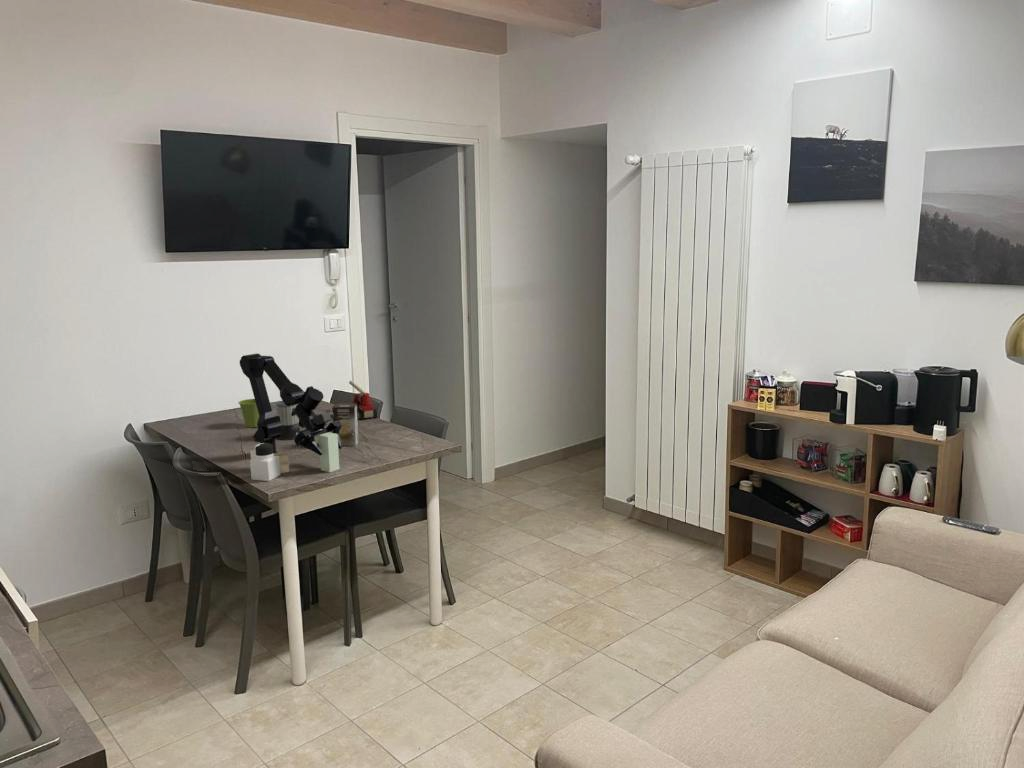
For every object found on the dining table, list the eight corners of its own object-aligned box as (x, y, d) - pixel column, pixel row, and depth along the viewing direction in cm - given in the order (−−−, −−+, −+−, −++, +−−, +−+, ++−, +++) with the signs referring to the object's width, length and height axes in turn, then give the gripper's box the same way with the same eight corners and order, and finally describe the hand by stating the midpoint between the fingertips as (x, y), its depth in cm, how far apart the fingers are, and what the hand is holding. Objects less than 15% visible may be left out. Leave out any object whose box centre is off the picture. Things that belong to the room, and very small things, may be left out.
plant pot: (272, 422, 343) (270, 398, 341) (261, 429, 332) (259, 404, 329) (247, 422, 344) (245, 398, 342) (235, 429, 333) (233, 404, 331)
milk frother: (294, 440, 313) (291, 405, 310) (259, 439, 317) (256, 404, 314) (310, 432, 327) (307, 398, 324) (276, 430, 330) (273, 396, 327)
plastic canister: (251, 468, 278) (250, 449, 276) (266, 466, 279) (264, 448, 278) (252, 472, 273) (250, 453, 272) (266, 470, 275) (265, 451, 273)
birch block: (270, 470, 274) (269, 454, 273) (284, 468, 277) (283, 452, 276) (275, 474, 270) (274, 457, 269) (289, 471, 273) (288, 455, 272)
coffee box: (333, 446, 304) (331, 407, 301) (336, 442, 311) (333, 403, 307) (356, 446, 305) (354, 406, 301) (359, 441, 311) (357, 403, 308)
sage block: (320, 470, 274) (318, 435, 272) (330, 466, 278) (328, 432, 275) (329, 472, 272) (327, 436, 269) (339, 468, 275) (337, 434, 273)
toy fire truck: (369, 411, 363) (367, 375, 359) (377, 419, 349) (376, 380, 345) (345, 414, 358) (343, 377, 355) (353, 421, 344) (351, 383, 341)
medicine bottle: (280, 475, 269) (278, 442, 267) (269, 481, 262) (266, 447, 260) (263, 473, 271) (260, 440, 269) (251, 479, 264) (248, 446, 262)
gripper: (297, 409, 265) (322, 444, 261) (337, 399, 280) (360, 432, 276) (283, 428, 271) (307, 463, 267) (323, 417, 286) (346, 450, 282)
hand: (331, 451), depth 273 cm, fingers open, 9 cm apart
